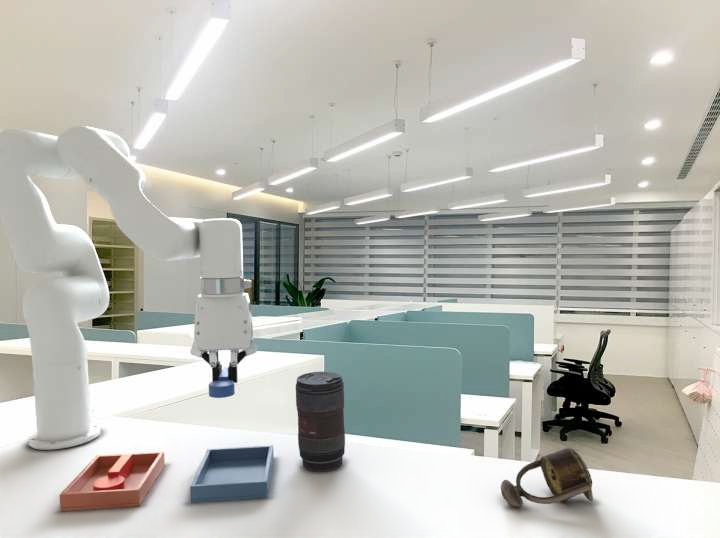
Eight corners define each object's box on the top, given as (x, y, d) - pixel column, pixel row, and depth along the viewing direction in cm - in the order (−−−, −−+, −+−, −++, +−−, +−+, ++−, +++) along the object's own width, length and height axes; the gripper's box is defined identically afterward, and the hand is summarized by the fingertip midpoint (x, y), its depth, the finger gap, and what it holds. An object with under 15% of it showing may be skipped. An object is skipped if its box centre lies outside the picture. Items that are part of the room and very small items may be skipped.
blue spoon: (233, 397, 101) (232, 382, 100) (207, 398, 100) (206, 383, 100) (240, 380, 112) (239, 367, 111) (216, 381, 111) (216, 367, 111)
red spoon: (119, 499, 86) (118, 482, 86) (89, 501, 86) (88, 484, 86) (141, 469, 98) (140, 453, 97) (114, 470, 97) (113, 455, 97)
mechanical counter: (604, 482, 77) (592, 439, 86) (505, 467, 79) (503, 427, 89) (596, 526, 79) (585, 480, 88) (500, 511, 82) (499, 467, 91)
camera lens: (289, 470, 97) (286, 381, 96) (311, 452, 104) (308, 369, 103) (334, 476, 94) (331, 385, 92) (353, 457, 101) (351, 372, 100)
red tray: (97, 469, 99) (96, 455, 99) (164, 465, 100) (164, 451, 100) (60, 511, 84) (59, 494, 84) (139, 506, 85) (138, 489, 85)
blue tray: (208, 463, 101) (207, 449, 100) (273, 459, 101) (273, 445, 101) (190, 503, 86) (189, 486, 86) (267, 498, 87) (266, 481, 87)
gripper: (267, 284, 110) (269, 380, 111) (182, 285, 109) (185, 383, 110) (264, 288, 102) (267, 391, 104) (173, 290, 101) (176, 394, 102)
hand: (225, 386), depth 107 cm, fingers closed on blue spoon, 1 cm apart
